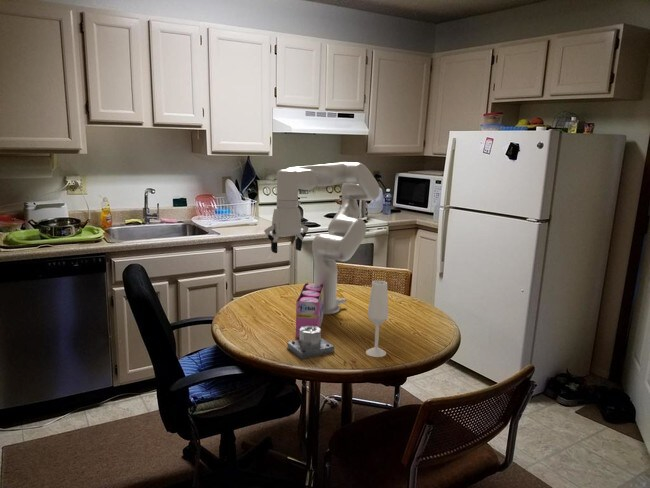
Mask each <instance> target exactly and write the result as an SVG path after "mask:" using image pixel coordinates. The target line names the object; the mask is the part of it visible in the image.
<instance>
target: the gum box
mask: <svg viewBox="0 0 650 488" xmlns="http://www.w3.org/2000/svg"><path fill="white" fill-rule="evenodd" d="M295 301H296V302H295V303H296V306H295V307H296V310H295V338H299V333H300V328H301V327H303V326H308V325H311V326H317V327H319V328H320V329H321V326H322V324H323V319H324V314H323V311H324V285H323V284H320V286H318V285H314V284H310V283H308V282H307V283H304V284H303V286H302V288H301V291H300V294H299V295H298V298H297V300H295Z"/></svg>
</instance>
